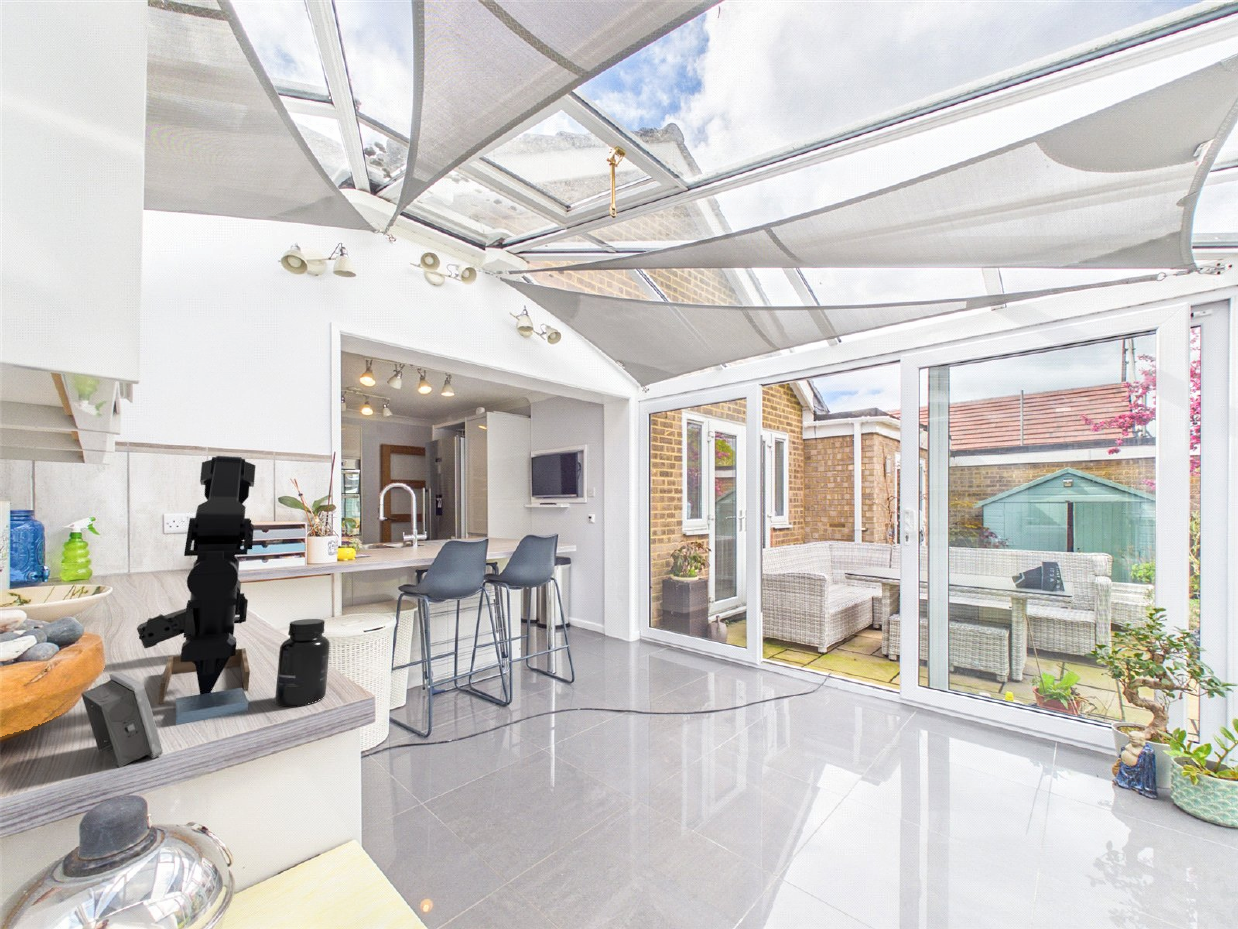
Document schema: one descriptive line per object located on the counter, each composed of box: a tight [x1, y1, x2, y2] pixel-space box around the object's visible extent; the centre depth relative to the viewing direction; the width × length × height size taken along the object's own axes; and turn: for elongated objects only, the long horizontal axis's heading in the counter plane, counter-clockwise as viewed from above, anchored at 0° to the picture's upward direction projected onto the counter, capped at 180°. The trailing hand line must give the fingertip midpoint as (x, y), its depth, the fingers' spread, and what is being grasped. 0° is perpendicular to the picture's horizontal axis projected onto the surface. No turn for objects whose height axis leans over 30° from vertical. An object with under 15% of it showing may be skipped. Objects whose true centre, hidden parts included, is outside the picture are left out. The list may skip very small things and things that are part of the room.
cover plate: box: [174, 687, 249, 726], centre depth 78 cm, size 8×8×2 cm
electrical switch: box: [80, 671, 163, 768], centre depth 63 cm, size 9×5×9 cm, turn 57°
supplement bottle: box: [274, 618, 331, 708], centre depth 83 cm, size 7×7×12 cm
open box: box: [157, 647, 251, 705], centre depth 91 cm, size 19×11×3 cm, turn 37°
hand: (204, 695), depth 81 cm, fingers closed
